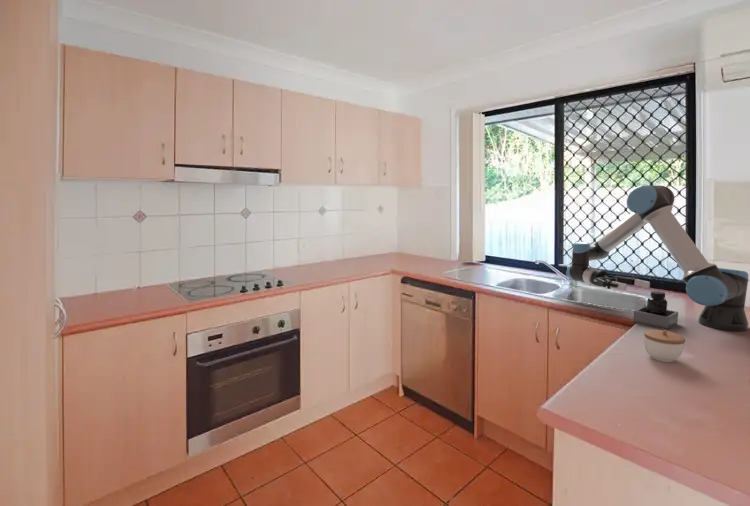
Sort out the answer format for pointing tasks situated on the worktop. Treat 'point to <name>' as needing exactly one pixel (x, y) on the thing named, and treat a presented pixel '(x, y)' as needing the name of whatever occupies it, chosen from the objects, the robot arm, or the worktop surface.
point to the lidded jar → (663, 344)
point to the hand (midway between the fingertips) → (637, 286)
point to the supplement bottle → (657, 303)
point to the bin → (655, 318)
